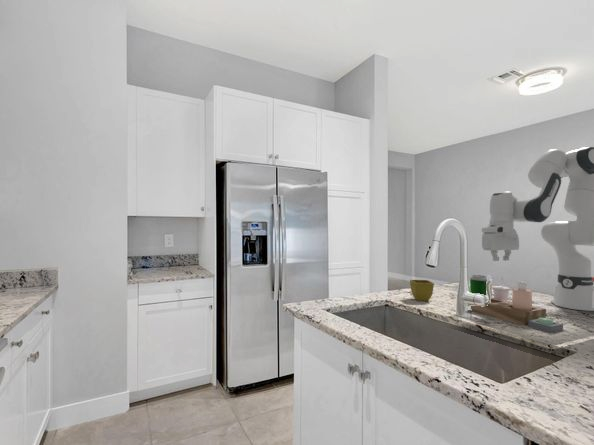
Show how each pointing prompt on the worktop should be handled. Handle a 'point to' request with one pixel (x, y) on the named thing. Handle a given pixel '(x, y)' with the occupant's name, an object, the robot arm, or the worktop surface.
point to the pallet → (510, 311)
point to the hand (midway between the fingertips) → (501, 260)
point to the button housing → (546, 326)
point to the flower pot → (421, 289)
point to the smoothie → (501, 292)
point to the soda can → (478, 284)
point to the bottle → (522, 297)
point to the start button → (545, 321)
